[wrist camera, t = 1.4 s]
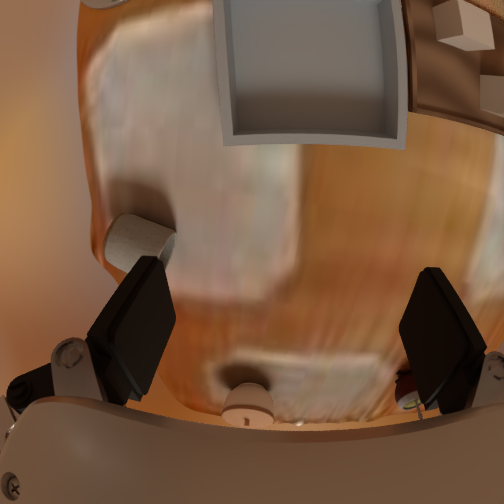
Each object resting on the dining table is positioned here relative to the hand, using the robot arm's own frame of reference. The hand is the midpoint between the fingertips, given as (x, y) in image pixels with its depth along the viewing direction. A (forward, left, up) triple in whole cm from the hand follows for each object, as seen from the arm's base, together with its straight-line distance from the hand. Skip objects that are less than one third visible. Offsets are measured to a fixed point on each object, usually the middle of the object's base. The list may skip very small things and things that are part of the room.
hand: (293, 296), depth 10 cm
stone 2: (-11, +28, -23) cm, 38 cm away
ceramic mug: (+11, -19, -24) cm, 33 cm away
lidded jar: (+48, -7, -24) cm, 54 cm away
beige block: (-19, +21, -23) cm, 36 cm away
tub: (-11, +3, -24) cm, 27 cm away
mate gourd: (+44, +27, -24) cm, 57 cm away
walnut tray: (-15, +25, -24) cm, 37 cm away
